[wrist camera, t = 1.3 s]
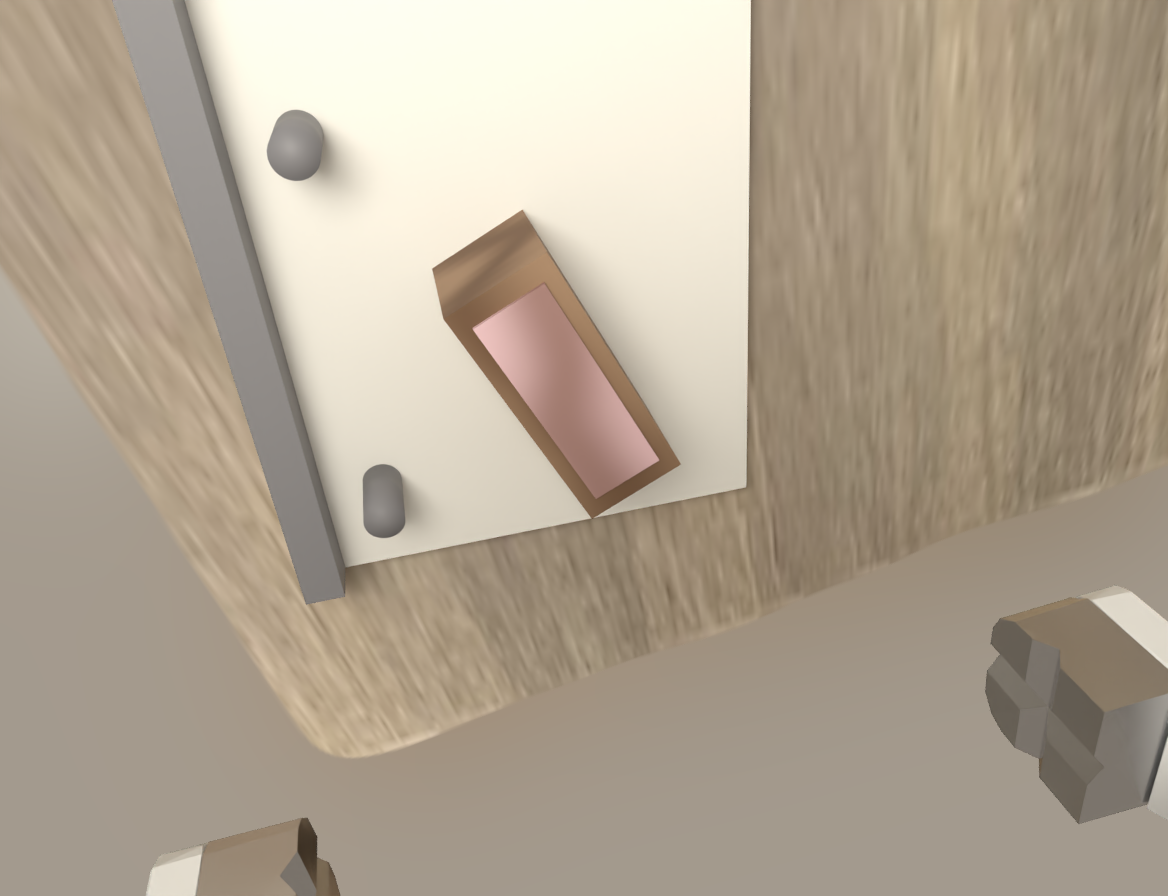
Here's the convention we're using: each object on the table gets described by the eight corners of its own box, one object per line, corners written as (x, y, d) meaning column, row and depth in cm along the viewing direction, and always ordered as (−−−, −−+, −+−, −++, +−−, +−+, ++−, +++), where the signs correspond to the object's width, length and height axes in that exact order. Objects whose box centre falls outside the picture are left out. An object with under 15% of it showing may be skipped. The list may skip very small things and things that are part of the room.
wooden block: (522, 209, 34) (547, 253, 29) (645, 404, 39) (682, 466, 35) (432, 268, 34) (443, 321, 30) (566, 453, 39) (592, 521, 35)
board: (738, -192, 30) (791, -206, 26) (737, 473, 43) (771, 523, 40) (95, -135, 27) (57, -141, 23) (309, 558, 41) (305, 620, 37)
